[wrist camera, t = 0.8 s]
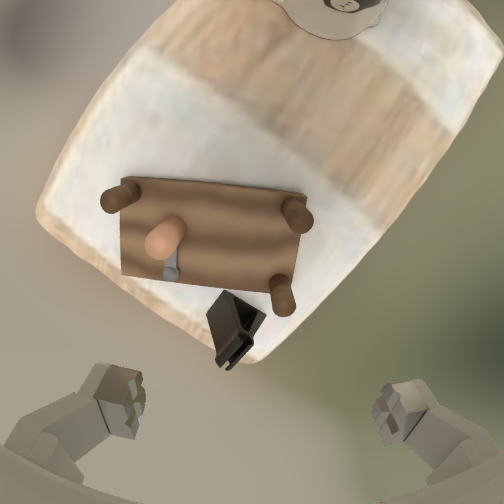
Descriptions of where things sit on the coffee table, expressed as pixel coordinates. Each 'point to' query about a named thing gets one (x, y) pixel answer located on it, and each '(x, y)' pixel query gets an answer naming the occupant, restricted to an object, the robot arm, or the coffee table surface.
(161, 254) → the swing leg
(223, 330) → the phone stand
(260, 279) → the stool base
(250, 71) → the coffee table surface
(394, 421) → the robot arm
